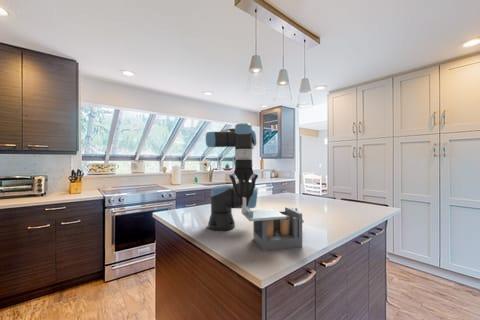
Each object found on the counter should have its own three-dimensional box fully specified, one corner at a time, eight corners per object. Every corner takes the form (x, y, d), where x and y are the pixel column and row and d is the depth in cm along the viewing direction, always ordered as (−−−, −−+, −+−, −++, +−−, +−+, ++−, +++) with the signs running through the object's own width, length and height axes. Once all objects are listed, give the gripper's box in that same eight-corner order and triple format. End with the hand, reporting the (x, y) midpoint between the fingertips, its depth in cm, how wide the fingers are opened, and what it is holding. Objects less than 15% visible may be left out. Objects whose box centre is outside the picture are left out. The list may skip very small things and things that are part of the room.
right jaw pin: (278, 240, 102) (278, 215, 102) (287, 239, 103) (287, 214, 103) (282, 244, 98) (282, 217, 98) (291, 243, 99) (291, 216, 99)
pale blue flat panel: (241, 213, 103) (241, 205, 103) (273, 211, 107) (273, 203, 107) (249, 221, 89) (249, 212, 89) (286, 218, 93) (286, 210, 93)
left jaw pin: (262, 242, 100) (262, 216, 100) (271, 241, 101) (271, 215, 101) (265, 245, 96) (265, 218, 96) (275, 244, 97) (274, 218, 97)
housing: (253, 239, 104) (253, 208, 104) (287, 235, 109) (287, 206, 109) (263, 250, 91) (263, 216, 91) (302, 246, 95) (302, 213, 95)
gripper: (230, 159, 91) (230, 215, 91) (260, 158, 94) (260, 213, 94) (227, 159, 98) (227, 211, 98) (255, 158, 101) (255, 209, 101)
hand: (243, 212), depth 96 cm, fingers closed
